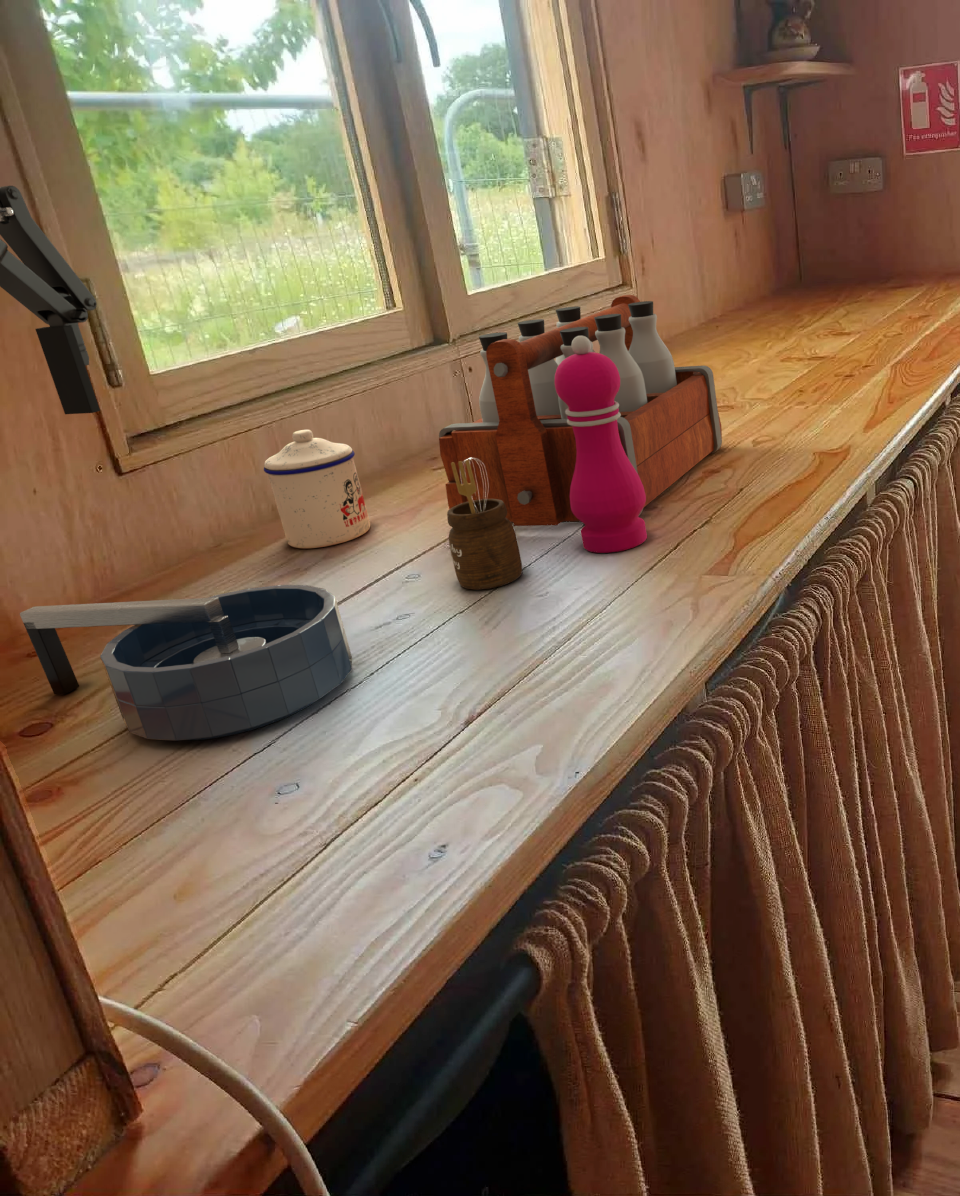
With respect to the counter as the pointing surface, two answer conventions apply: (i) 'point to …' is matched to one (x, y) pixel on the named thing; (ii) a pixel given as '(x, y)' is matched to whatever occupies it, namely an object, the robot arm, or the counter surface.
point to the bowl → (230, 666)
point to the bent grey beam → (48, 618)
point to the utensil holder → (481, 538)
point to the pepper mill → (599, 453)
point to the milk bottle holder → (539, 423)
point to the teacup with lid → (317, 492)
